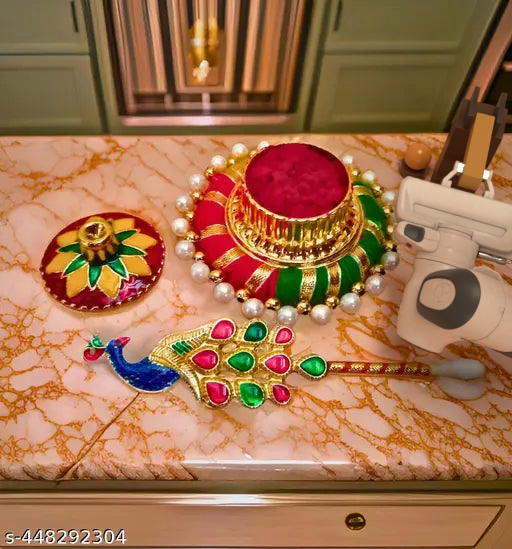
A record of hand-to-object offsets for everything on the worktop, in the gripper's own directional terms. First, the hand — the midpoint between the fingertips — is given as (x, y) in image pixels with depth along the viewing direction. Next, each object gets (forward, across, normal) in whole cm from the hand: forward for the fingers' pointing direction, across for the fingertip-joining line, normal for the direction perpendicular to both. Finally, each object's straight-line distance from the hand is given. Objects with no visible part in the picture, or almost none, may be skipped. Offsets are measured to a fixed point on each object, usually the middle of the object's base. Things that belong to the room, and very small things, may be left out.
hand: (473, 166), depth 91 cm
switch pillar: (0, 0, +30) cm, 30 cm away
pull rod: (+3, 0, +4) cm, 5 cm away
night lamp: (+6, +8, +34) cm, 35 cm away
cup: (-21, -9, +18) cm, 29 cm away
